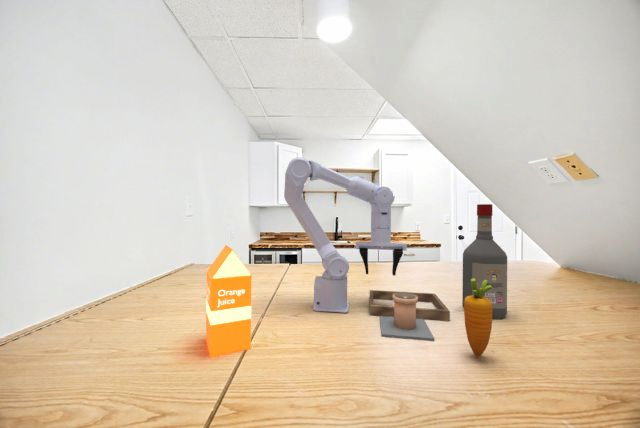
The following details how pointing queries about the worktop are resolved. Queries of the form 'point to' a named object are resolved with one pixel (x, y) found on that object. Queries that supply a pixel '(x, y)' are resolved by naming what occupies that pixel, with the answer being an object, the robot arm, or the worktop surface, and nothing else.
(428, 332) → the potting mat
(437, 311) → the cold frame
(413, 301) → the terracotta pot
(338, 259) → the robot arm
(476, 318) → the carrot
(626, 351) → the worktop surface
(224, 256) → the orange juice
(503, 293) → the liquor
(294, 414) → the worktop surface
